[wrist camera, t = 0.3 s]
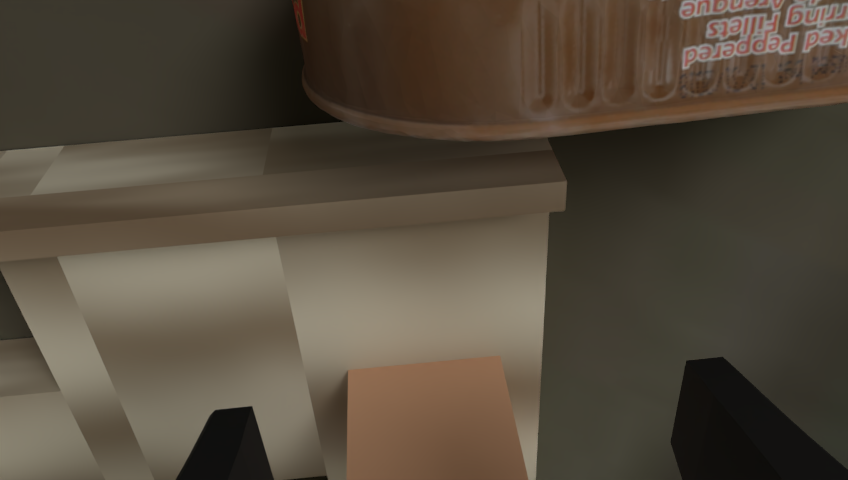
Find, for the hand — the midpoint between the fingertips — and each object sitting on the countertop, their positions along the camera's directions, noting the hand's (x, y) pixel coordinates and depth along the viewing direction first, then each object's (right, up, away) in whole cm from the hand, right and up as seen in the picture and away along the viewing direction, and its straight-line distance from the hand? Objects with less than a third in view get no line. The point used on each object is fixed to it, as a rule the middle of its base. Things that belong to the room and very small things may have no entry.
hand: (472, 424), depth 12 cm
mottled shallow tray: (-9, -2, +12) cm, 16 cm away
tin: (+4, +11, +5) cm, 12 cm away
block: (-1, -2, +10) cm, 11 cm away
